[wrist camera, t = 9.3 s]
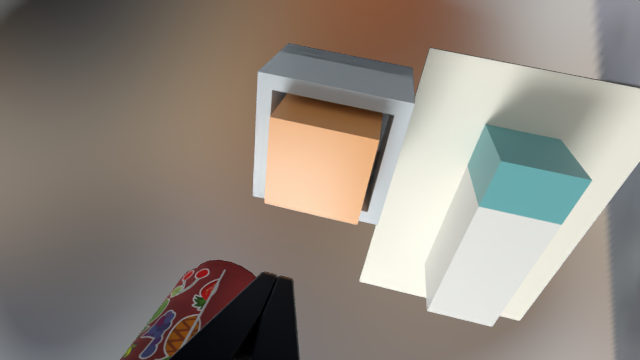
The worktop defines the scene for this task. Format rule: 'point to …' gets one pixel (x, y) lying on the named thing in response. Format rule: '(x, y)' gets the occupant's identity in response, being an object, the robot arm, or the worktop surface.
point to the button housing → (343, 88)
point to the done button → (320, 157)
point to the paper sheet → (459, 143)
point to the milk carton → (500, 222)
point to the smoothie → (189, 309)
